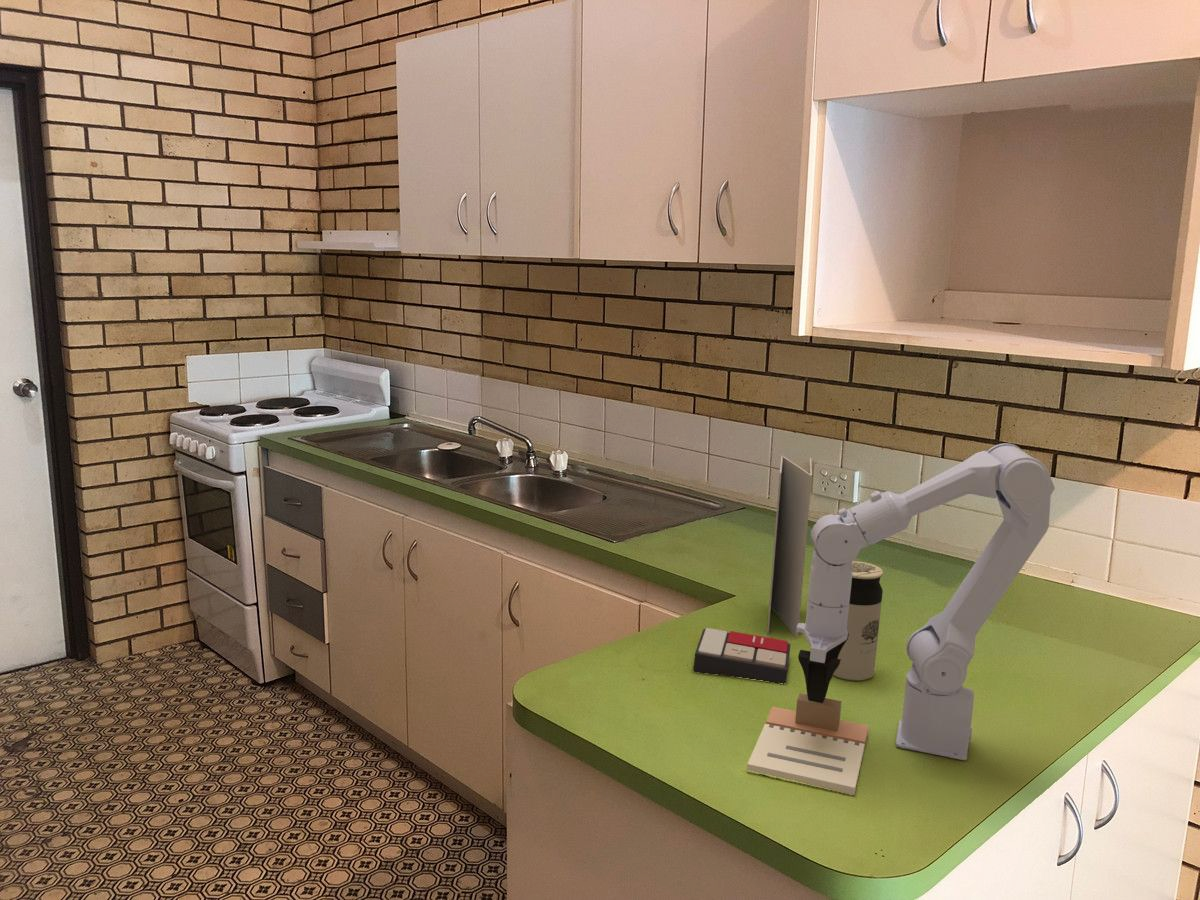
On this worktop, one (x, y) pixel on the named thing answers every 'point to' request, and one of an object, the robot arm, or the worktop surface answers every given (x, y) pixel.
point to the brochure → (790, 543)
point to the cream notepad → (808, 758)
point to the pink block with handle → (818, 720)
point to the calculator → (742, 655)
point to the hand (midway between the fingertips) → (819, 689)
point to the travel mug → (862, 624)
